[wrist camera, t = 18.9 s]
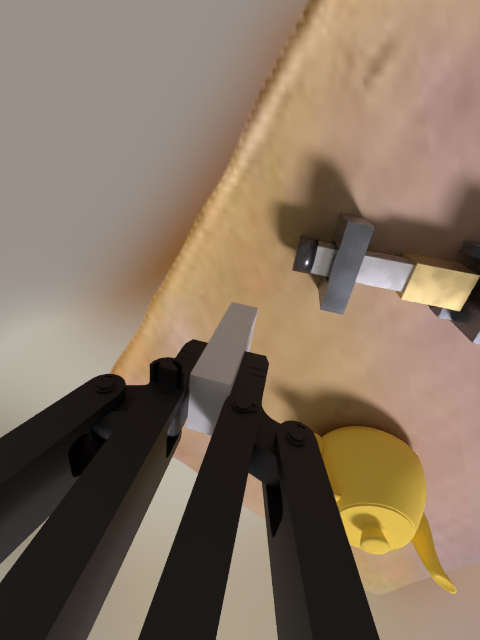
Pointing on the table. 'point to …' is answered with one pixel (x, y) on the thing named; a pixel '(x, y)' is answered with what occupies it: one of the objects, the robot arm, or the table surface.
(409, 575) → the table surface
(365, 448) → the teapot
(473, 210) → the table surface
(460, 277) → the block
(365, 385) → the table surface
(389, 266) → the shaft
